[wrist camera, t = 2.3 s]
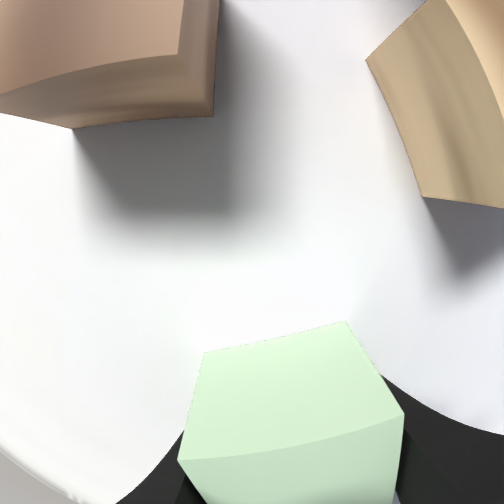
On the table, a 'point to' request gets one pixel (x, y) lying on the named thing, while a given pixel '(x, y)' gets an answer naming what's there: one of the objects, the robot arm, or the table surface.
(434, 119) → the oak block
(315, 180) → the table surface
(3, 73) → the walnut block
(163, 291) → the table surface
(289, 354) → the sage painted block
